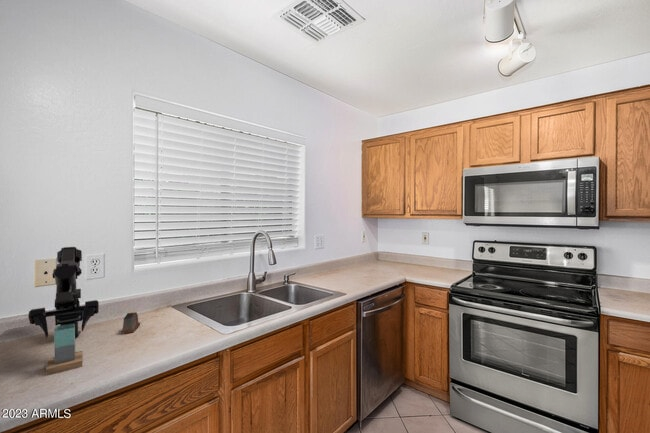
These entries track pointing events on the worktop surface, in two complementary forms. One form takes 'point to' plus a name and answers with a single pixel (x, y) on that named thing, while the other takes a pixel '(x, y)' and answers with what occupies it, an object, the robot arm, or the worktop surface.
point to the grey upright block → (130, 322)
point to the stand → (64, 364)
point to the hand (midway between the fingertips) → (65, 333)
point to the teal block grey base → (64, 343)
